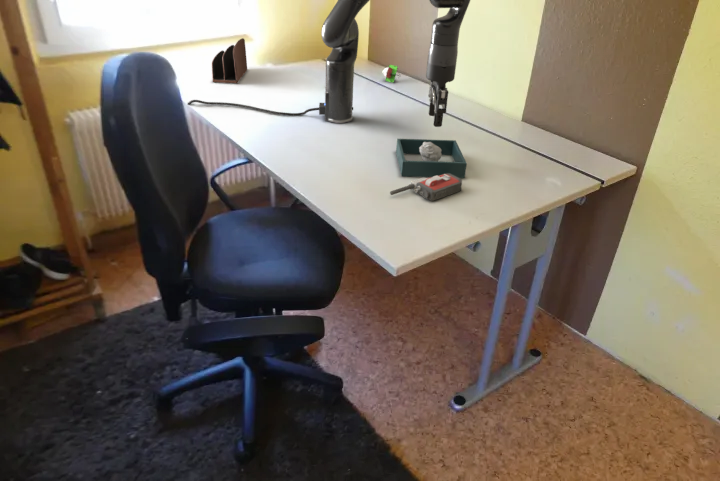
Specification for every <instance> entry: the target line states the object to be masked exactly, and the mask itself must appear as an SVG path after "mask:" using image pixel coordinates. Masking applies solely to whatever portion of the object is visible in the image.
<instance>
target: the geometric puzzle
mask: <svg viewBox="0 0 720 481" xmlns="http://www.w3.org/2000/svg"><path fill="white" fill-rule="evenodd" d="M398 69H399V66H398V65H393V64H388V66H386V67H384V68H383V70H382V71H381V72H382V75H383V77H385V78H383V79H384V81H385V82H388V83H391V84H394V83H395V81H396V76H397V77H398V79H400V76H401V74H400V73H399V72H398ZM397 73H398V74H397Z"/></svg>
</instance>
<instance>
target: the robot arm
mask: <svg viewBox="0 0 720 481" xmlns="http://www.w3.org/2000/svg"><path fill="white" fill-rule="evenodd" d="M370 1H371V0H337V1H336V3H335V5H334V6H333V7H332V9H331V10H330V12H329V14H328V15H327V17H326V18H325V19H324V21H323V24H322V26H321V32H320V33H321V34H320V35H321V39H322V42H323V44H324V45H325V46H326V47H328V48H331V51H330V53H329V55H328V56H327V57H326V59H325V86H324V88H325V92H324V102H319V103H318V107H312V108H308V109H306V110H304V111H302V112H296V113H294V112H293V113H292V112H283V111H275V110H270V109H266V108H261V107H256V106H251V105H247V104H241V103H234V102H233V103H232V102H223V101H219V102H218V101H204V100H200V99H192V100H189V101H188V102H187V105H189V106H190V105H191V104H194V103H197V104H198V103H199V104H204V105H211V106H212V105H213V106H214V105H215V106H232V107H240V108H245V109H246V108H247V109H251V110H254V111H259V112H265V113H268V114H274V115H279V116H280V115H281V116H289V117H290V116H291V117H294V116H295V117H298V116H303V115H306V114H308V113H310V112H313V111H314V112H315V111H318V115H319V116H320V115H321V116H324V121H325V122H329V123H334V124H343V123H344V124H345V123H349V122H351V121H352V120H353V111H354V107H353V104H354V102H353V100H354V78H355V63H356V60H357V58H358V49H359V39H360V38H359V36H360V32H359V25H358V23H357V20H356V17H357V15H358V14H359V13H360V12H361V10H362V9H363V8H364V7H365V6H366V5H367V4H368V3H369V2H370ZM428 1H429V4H431V5H432V6H433V7H434V8H437V9H449V10H448V11H447V13H446V14H444V15H443V16H440V17H437V18H435V19H434V20H433V21H432V24H431V33H430V42H429V48H428V53H427V62H426V72H425V78H426V79H427V80H428V81H430V83H429V90H428V98H429V99H428V101H429V108H428V115H429V116H430V117H433V127H435V128H441V127H442V126H443V120H444V119H443V118H444V114H446V113H447V106H448V98H449V90H448V87H447V83H451V82H453V81H454V80H455V76H456V68H457V61H458V52H459V49H458V48H459V46H458V45H459V38H460V30H461V29H460V28H461V26H462V23H463V21H464V18H465V15H466V13H467V10H468V8H469V5H470V3H471V0H428ZM440 106H441V108H440Z"/></svg>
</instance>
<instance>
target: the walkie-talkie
mask: <svg viewBox="0 0 720 481" xmlns="http://www.w3.org/2000/svg"><path fill="white" fill-rule="evenodd" d="M462 185H463V179H462V178H458V177H456V176H454V175H452V174H450V173H447V174H442V175H439V176H437V175H436V176H433V177H420V178H418V179H414V180H411V181H410V184H407V185H405V186H402V187H399V188H396V189H394V190H393V189H392V190H391V191H389V195H390V196H393V195H396V194H400V193H403V192H405V191H408V190H414V193H416V194H418V195H420V196H421V197H423V198H424V199H427V200H428V201H431V202H434V201H437V200H439V199H442V198H445V197H448V196H451V195H453V194H456V193H459V192H460V191H461V192H462Z"/></svg>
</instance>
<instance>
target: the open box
mask: <svg viewBox="0 0 720 481" xmlns="http://www.w3.org/2000/svg"><path fill="white" fill-rule="evenodd" d="M423 142H432V143H433V144H434V145H436V146H438V147H439V148H440V149H441V150H442V151H441V153H442V154H441V156H451V157H452V160H453V161H441V160H440V161H439V160H438V161H423V160H406V157H405V155H421V154H420V151H419V150H420V149H419V148H420V147H421V145H423ZM395 154H396V158H397V163H398V168H399V172H400V177H404V178H405V177H407V178H408V177H409V178H430V177H431V178H432V177H433V176H436V175H437V176H439V175H442V174H447V173H450V174H452V175H454V176H456V177H458V178H460V179H465V178H466V170H467V165H468V162H467V161H466V159H465V156H464V154H463V153H462V150H461V148H460V146H459V144H458V142H457V140H456V139H455V140H454V139H424V138H423V139H422V138H420V139H419V138H397V140H396V149H395Z"/></svg>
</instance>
